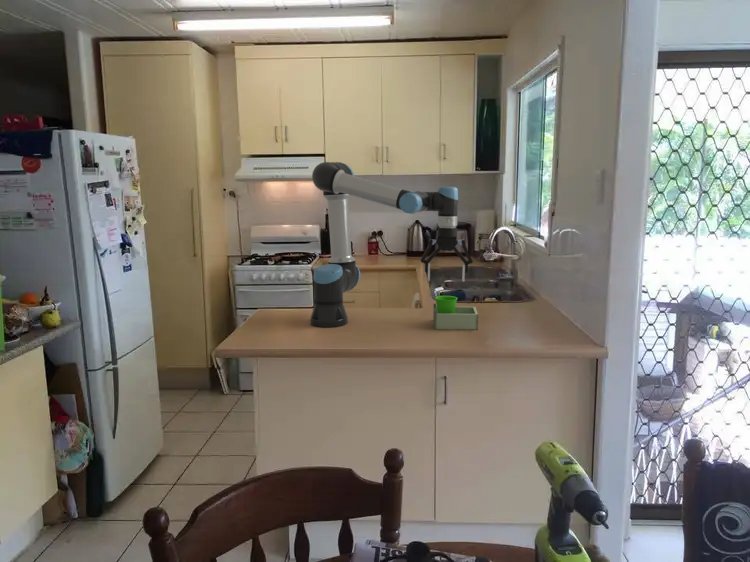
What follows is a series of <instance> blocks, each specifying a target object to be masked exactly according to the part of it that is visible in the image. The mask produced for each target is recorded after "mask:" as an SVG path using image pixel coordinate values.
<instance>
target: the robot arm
mask: <svg viewBox="0 0 750 562" xmlns="http://www.w3.org/2000/svg"><path fill="white" fill-rule="evenodd" d="M311 179H312V183H313V184H314V186H315V188H316V189H318V190H320V191H322V195H323V197H324V199H326V200H327V214H328V229H329V242H330V258H329V259H328V260H327V263H326V264H322V265H319V266H316V268H314V270H313V299H314V302H313V303H314V305H313V309H312V311H311V315H310V325H311V326H314V327H318V328H336V327H341V326H345V325H347V324H348V320H349V319H348V318H349V317H348V315H347V311H346V308H345V305H344V293H345V292H349V291H351V290H353V289H354V288H355V287H356V286H357V285H358V284H360V280H361V271H360V269H359V267H358V266H357V263H356V258H355V257H353V256H352V242H351V241H352V239H351V228H350V226H351V225H350V211H349V209H350V208H349V198H350V197H351V196H352V197H356V198H359V199H363V200H366V201H369V202H373V203H377V204H379V205H384V206H388V207H391V208H394V209H398V210H400V211H402V212H404V213H406V214H411V215H412V214H417V213H420V212H437V237H436V239H432V238H430V239H429V241H428V245H427V247H426V249H425V251H424V253H423V255H422V257H421V258H420V263H422V264H424V272H425V273H427V281H428V282H430V281H431V263H430V262H431V261H432V260H433V258H435V257H436V256H437V254H438V253H440V251H443V252H446V251H448V252H451V251H454V253H455V254H456V255H457V256H458V258H459V259H460V260H461V261H462V262H463V264H462V273H461V278H462V279H461V280H462V282H464V283H465V276H466V273H467V274H468V271H469V268H468V267H469V265H470V264H473V263H474V261H473V259H472V256H471V255H470V253H469V251H468V248H467V247H466V241H465V239H464V238H462V239H458V228H457V227H458V209H459V189H458V188H457V187H456V186H439V188H438V191H419V190H416V191H410V190H406V189H403V188H398V187H395V186H391V185H388V184H385V183H381V182H378V181H373V180H371V179H366V178H363V177H360V176H356V175H355V172H354V171H353V169H352V168H351V167H350V166H349V165H348V164H346V163H343V162H338V161H335V162H334V161H332V162H330V161H324V162H320V163H318V164H317V165H316V166H315V167H314V169H313V171H312V175H311ZM435 244H436V245H437V246H436V247H437V248H435V250H434V251H433V252H432V253H431V254H430V255H429V256H428V254H429V252H430V251H431V248H432V247H433V246H435ZM458 244H459V246H461V247H462V250H463V251H464V254H465V255H466V258H467V259H466V258H465V257H464V256H463V254H462V253H461V252H460V251H459V249H458V248H457V245H458ZM427 256H428V257H427ZM426 258H427V259H426Z"/></svg>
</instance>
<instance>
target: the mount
mask: <svg viewBox="0 0 750 562" xmlns="http://www.w3.org/2000/svg"><path fill="white" fill-rule="evenodd" d="M432 308H433V310H432V311H433V312H432V314H433V317H432V318H433V329H434V330H477V331H478V330H479V313H478V312H479V311H478V310H477V307H476V306H456V307H455V312H454V314H438V312H437V304H436V303H433V307H432Z"/></svg>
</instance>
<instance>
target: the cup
mask: <svg viewBox="0 0 750 562" xmlns="http://www.w3.org/2000/svg"><path fill="white" fill-rule="evenodd" d="M434 299H435V304H436V306H437V312H438V314H454V312H455V307H457V300H458V297H456V296H452V295H437V296H435V297H434Z"/></svg>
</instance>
